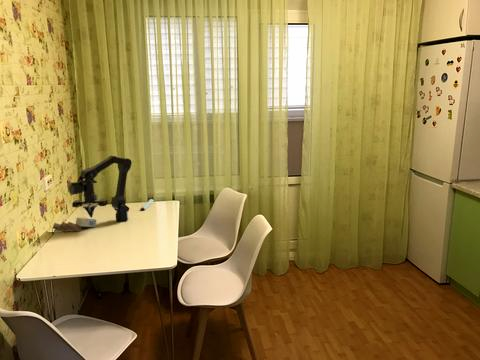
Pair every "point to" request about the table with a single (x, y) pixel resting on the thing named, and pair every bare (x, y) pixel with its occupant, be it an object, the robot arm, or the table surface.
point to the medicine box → (86, 222)
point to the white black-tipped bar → (147, 204)
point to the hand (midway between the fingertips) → (91, 217)
